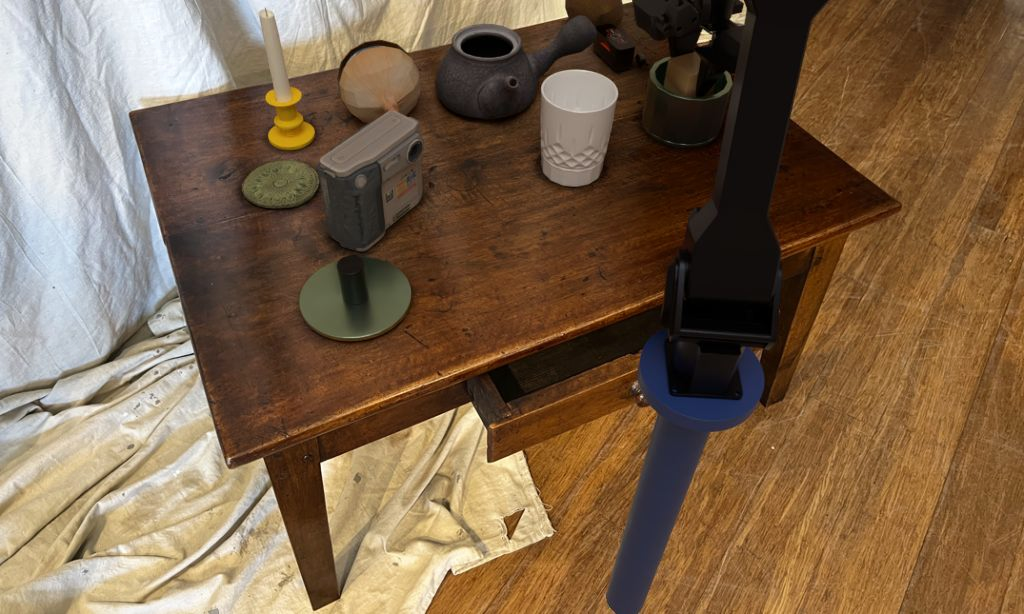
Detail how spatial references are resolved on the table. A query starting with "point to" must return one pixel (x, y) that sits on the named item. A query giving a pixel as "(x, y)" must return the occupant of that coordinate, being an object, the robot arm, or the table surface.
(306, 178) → the medallion
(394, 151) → the camera
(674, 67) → the block
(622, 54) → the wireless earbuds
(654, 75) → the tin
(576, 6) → the potato
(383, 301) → the lid
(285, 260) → the table surface
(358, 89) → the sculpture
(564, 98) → the white cup
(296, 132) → the candle
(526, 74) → the teapot
